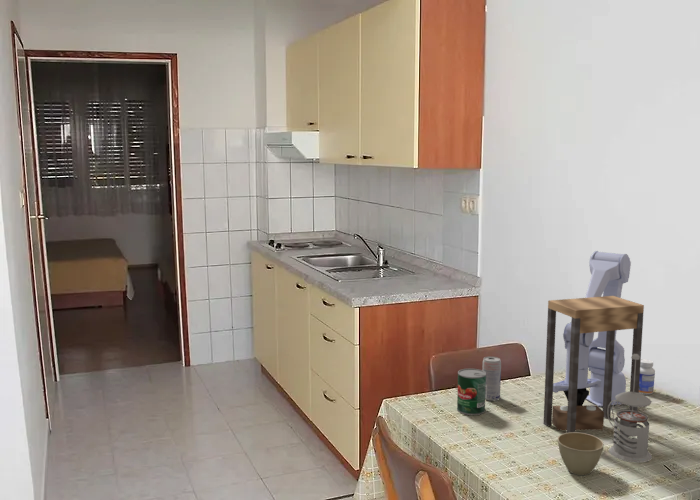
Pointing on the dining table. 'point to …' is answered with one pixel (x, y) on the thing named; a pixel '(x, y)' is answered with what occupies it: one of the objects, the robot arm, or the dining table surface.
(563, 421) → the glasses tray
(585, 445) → the flower pot
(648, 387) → the pill bottle
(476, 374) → the canned tomato
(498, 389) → the energy drink
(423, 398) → the dining table surface
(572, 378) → the wood and metal stand
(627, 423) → the french press
